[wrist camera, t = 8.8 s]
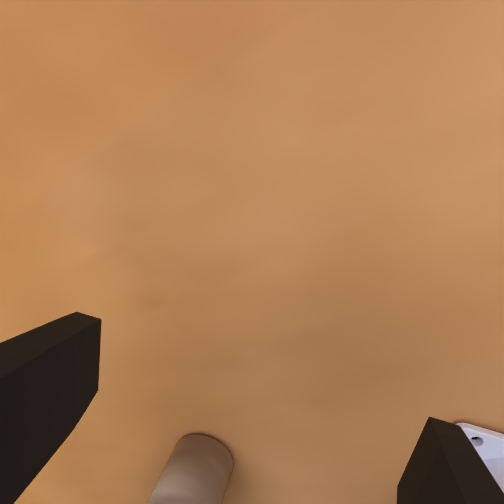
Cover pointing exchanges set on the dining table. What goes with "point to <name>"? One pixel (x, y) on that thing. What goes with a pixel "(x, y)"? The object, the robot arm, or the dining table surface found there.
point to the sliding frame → (194, 473)
